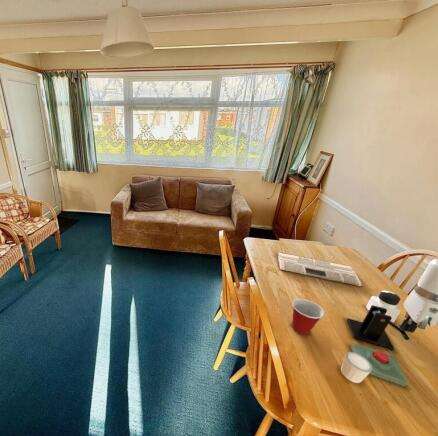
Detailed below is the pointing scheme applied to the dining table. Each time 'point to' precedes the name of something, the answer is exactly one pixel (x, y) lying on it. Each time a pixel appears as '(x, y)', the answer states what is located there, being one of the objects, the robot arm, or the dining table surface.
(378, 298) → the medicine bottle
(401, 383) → the button box
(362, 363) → the white cup
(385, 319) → the bracket
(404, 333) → the lever
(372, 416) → the dining table surface
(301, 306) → the plastic cup
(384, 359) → the button
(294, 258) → the newspaper
